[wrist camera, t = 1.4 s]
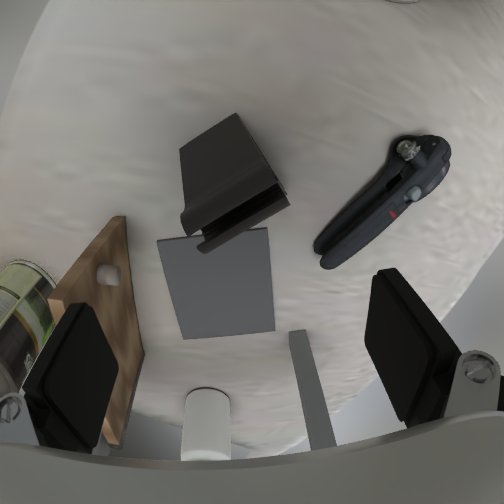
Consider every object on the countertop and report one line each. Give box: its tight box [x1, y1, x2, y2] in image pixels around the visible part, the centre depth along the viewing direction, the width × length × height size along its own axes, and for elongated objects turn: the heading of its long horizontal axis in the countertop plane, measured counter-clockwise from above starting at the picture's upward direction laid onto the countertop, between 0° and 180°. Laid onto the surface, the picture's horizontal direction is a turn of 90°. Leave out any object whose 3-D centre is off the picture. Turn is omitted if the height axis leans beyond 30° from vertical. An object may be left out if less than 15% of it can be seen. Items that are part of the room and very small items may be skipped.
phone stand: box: [179, 113, 290, 254], centre depth 23 cm, size 9×6×12 cm, turn 31°
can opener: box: [314, 135, 451, 270], centre depth 28 cm, size 18×7×6 cm, turn 136°
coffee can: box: [0, 260, 56, 398], centre depth 27 cm, size 10×10×14 cm
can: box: [181, 388, 231, 461], centre depth 38 cm, size 6×6×12 cm
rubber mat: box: [157, 228, 275, 340], centre depth 34 cm, size 11×13×1 cm
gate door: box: [47, 217, 145, 450], centre depth 28 cm, size 19×3×14 cm, turn 176°
